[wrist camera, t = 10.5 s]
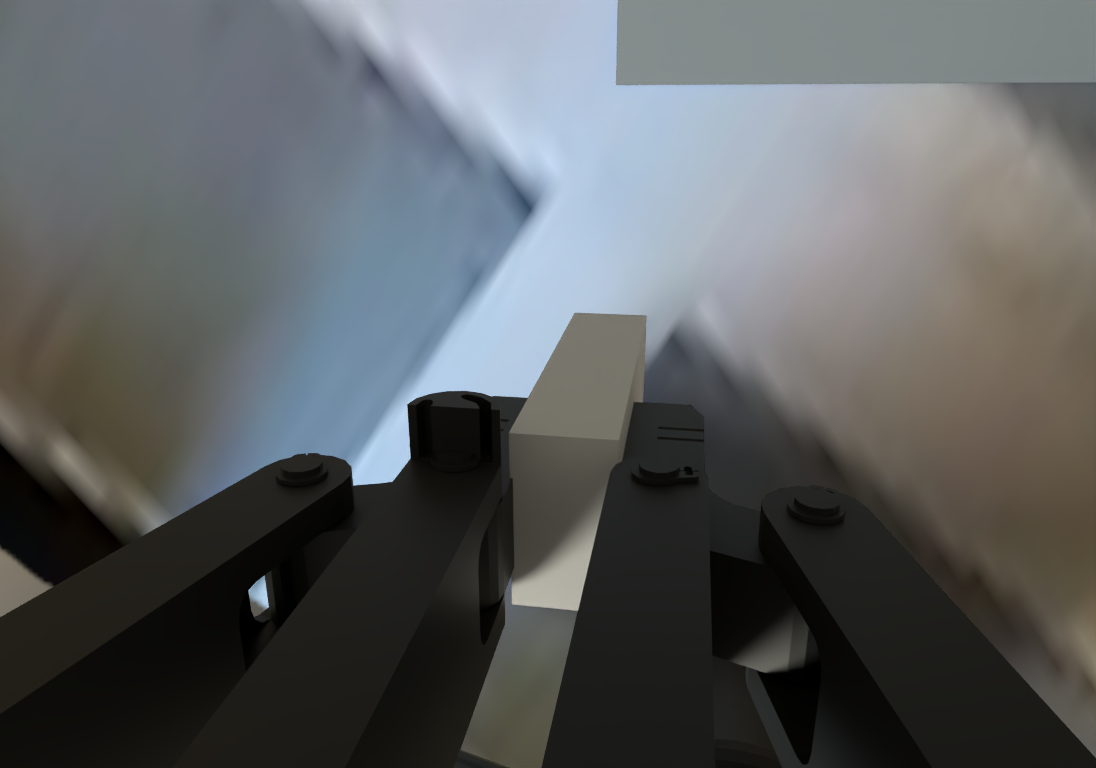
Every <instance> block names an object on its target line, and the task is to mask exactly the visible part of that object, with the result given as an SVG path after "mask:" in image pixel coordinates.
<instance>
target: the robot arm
mask: <svg viewBox="0 0 1096 768" xmlns="http://www.w3.org/2000/svg"><path fill="white" fill-rule="evenodd" d="M645 341H646V316H642V315H618V314H593V313H574V315H573V317H572V319H571V321H570V322H569V324H568V326H567V328H566V330H565V332H564V333H563V335H562V337H561V339H560V341H559V343H558V344H557V346H556V348H555V350H554V352H553V353H552V355H551V357H550V359H549V361H548V363H547V364H546V366H545V368H544V370H543V372H542V373H541V375H540V377H539V379H538V381H537V383H536V384H535V386H534V388H533V390H532V392H531V394H530V395H529V397H528V398H518V397H501V396H493V397H491V396H488V395H485V394H482V393H476V392H469V391H447V392H440V393H433V394H429V395H426V396H423V397H419V398H416V399H415V400H413V401H412V402H410V403H409V404H407V405H408V421H409V437H410V453H411V459H410V460H409V461H408V463H407V464H406V465H405V467H404V468H403V469H402V471H401V472H400V473H399V474H398V476H397V477H396V478H395V480H394V481H393V482H388V483H381V484H368V485H356V486H353V480H352V469H351V466H350V465H349V464H348V463H347V462H346V461H345V460H342V459H339V458H337V457H334V456H325V455H320V454H318V453H308V455H306V454H297V455H294V456H293V457H291V458H287V459H283V460H279V461H277V462H274V463H272V464H270V465H267V466H265V467H263V468H261V469H260V470H258V471H256V472H254V473H253V474H251V475H249V476H247V477H245V478H244V479H242V480H240V481H238V482H237V483H235V484H233V485H231V486H230V487H228V488H226V489H224V490H223V491H221V492H219V493H217V494H216V495H214V496H212V497H210V498H209V499H207V500H205V501H203V502H202V503H200V504H198V505H196V506H195V507H193V508H191V509H189V510H188V511H186V512H184V513H182V514H181V515H179V516H177V517H175V518H174V519H172V520H170V521H168V522H167V523H165V524H163V525H161V526H160V527H158V528H156V529H154V530H153V531H151V532H149V533H147V534H146V535H144V536H142V537H140V538H139V539H137V540H135V541H133V542H131V543H130V544H128V545H126V546H124V547H123V548H121V549H119V550H117V551H116V552H114V553H112V554H110V555H109V556H107V557H105V558H103V559H102V560H100V561H98V562H96V563H95V564H93V565H91V566H89V567H88V568H86V569H84V570H82V571H81V572H79V573H77V574H75V575H74V576H72V577H70V578H68V579H67V580H65V581H63V582H61V583H60V584H58V585H56V586H54V587H53V588H51V589H49V590H47V591H46V592H44V593H42V594H40V595H39V596H37V597H35V598H33V599H32V600H30V601H28V602H26V603H25V604H23V605H21V606H19V607H18V608H16V609H14V610H12V611H11V612H9V613H7V614H6V615H4V616H2V617H0V768H508V767H505V766H503V765H500V764H497V763H495V762H492V761H489V760H487V759H484V758H481V757H478V756H476V755H473V754H470V753H468V752H465V751H462V750H460V749H461V746H462V743H463V740H464V737H465V735H466V732H467V729H468V726H469V723H470V720H471V718H472V715H473V712H474V709H475V706H476V704H477V701H478V698H479V695H480V692H481V690H482V687H483V684H484V681H485V678H486V675H487V673H488V670H489V667H490V664H491V661H492V659H493V656H494V653H495V650H496V647H497V644H498V642H499V639H500V636H501V633H502V630H503V628H504V625H505V590H506V587H507V585H508V582H509V579H510V577H511V574H512V604H515V605H525V606H535V607H545V608H556V609H566V610H576V611H578V613H577V617H576V622H575V626H574V630H573V635H572V639H571V643H570V648H569V652H568V656H567V660H566V665H565V669H564V673H563V678H562V682H561V686H560V691H559V695H558V699H557V703H556V708H555V712H554V716H553V721H552V725H551V729H550V734H549V738H548V742H547V746H546V751H545V755H544V759H543V764H542V768H1096V758H1095V757H1094V756H1093V755H1092V753H1091V752H1090V751H1089V750H1088V749H1087V748H1086V747H1085V746H1084V745H1083V744H1082V743H1081V741H1080V740H1079V739H1078V738H1077V737H1076V736H1075V735H1074V734H1073V733H1072V732H1071V730H1070V729H1069V728H1068V727H1067V726H1066V725H1065V724H1064V723H1063V722H1062V721H1061V720H1060V718H1059V717H1058V716H1057V715H1056V714H1055V713H1054V712H1053V711H1052V710H1051V709H1050V707H1049V706H1048V705H1047V704H1046V703H1045V702H1044V701H1043V700H1042V699H1041V698H1040V697H1039V695H1038V694H1037V693H1036V692H1035V691H1034V690H1033V689H1032V688H1031V687H1030V686H1029V684H1028V683H1027V682H1026V681H1025V680H1024V679H1023V678H1022V677H1021V676H1020V675H1019V674H1018V672H1017V671H1016V670H1015V669H1014V668H1013V667H1012V666H1011V665H1010V664H1009V663H1008V661H1007V660H1006V659H1005V658H1004V657H1003V656H1002V655H1001V654H1000V653H999V652H998V651H997V649H996V648H995V647H994V646H993V645H992V644H991V643H990V642H989V641H988V640H987V639H986V637H985V636H984V635H983V634H982V633H981V632H980V631H979V630H978V629H977V628H976V626H975V625H974V624H973V623H972V622H971V621H970V620H969V619H968V618H967V617H966V616H965V614H964V613H963V612H962V611H961V610H960V609H959V608H958V607H957V606H956V605H955V603H954V602H953V601H952V600H951V599H950V598H949V597H948V596H947V595H946V594H945V593H944V591H943V590H942V589H941V588H940V587H939V586H938V585H937V584H936V583H935V582H934V580H933V579H932V578H931V577H930V576H929V575H928V574H927V573H926V572H925V571H924V570H923V568H922V567H921V566H920V565H919V564H918V563H917V562H916V561H915V560H914V559H913V557H912V556H911V555H910V554H909V553H908V552H907V551H906V550H905V549H904V548H903V547H902V545H901V544H900V543H899V542H898V541H897V540H896V539H895V538H894V537H893V536H892V535H891V533H890V532H889V531H888V530H887V529H886V528H885V527H884V526H883V525H882V524H881V522H880V521H879V520H878V519H877V518H876V517H875V516H874V515H873V514H872V513H871V512H870V510H869V509H868V508H866V507H865V506H864V505H862V504H861V503H860V502H858V501H857V500H856V499H854V498H851V497H849V496H846V495H844V494H841V493H839V492H838V491H836V490H833V489H829V488H826V489H823V488H824V487H819V486H809V487H798V486H797V487H790V488H782V489H778V490H776V491H774V492H771V493H769V494H767V495H766V497H765V498H764V500H763V501H762V503H761V512H760V511H756V510H751V509H747V508H744V507H741V506H737V505H734V504H732V503H729V502H727V501H725V500H723V499H721V498H719V497H718V496H717V495H715V494H714V493H712V492H711V490H710V489H709V488H708V478H707V476H706V473H705V464H704V418H703V416H702V415H701V414H700V413H699V412H698V411H697V410H696V409H695V408H694V407H692V406H691V405H678V404H661V403H643V392H644V367H645ZM264 575H265V581H266V589H267V596H268V604H269V608H267V609H266V610H265V611H264V612H262V613H261V614H260V615H258V616H256V617H254V616H253V614H252V612H251V606H250V599H249V592H248V590H249V589H250V588H251V587H252V586H253V584H254V583H255V582H256V581H257V580H259V579H260V578H261V577H263V576H264Z"/></svg>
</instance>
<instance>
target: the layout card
mask: <svg viewBox="0 0 1096 768" xmlns="http://www.w3.org/2000/svg"><path fill="white" fill-rule="evenodd" d="M1052 82H1096V0H618V18H617V68H616V85H705V84H879V83H1052Z"/></svg>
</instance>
